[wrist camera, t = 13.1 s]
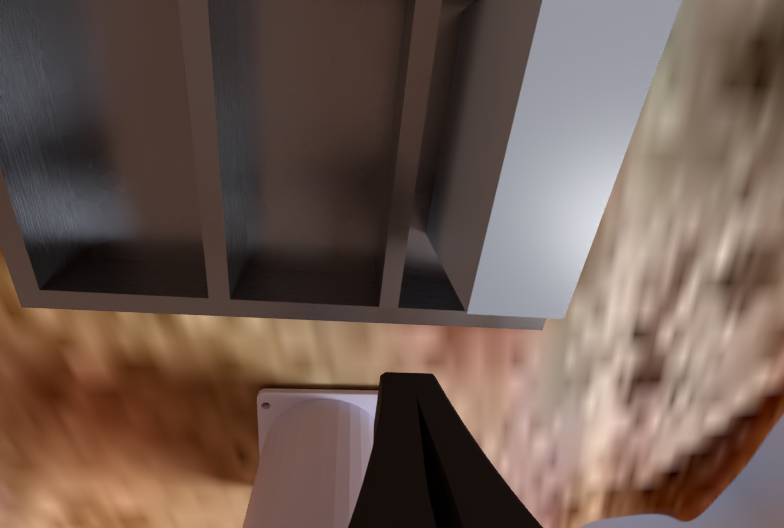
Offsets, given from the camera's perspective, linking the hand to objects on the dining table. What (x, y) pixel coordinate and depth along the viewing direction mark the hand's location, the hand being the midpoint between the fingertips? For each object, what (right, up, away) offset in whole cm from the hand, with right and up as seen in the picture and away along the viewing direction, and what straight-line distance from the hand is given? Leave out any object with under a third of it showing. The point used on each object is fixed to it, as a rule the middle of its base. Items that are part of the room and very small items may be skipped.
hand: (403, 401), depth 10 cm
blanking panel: (+3, +9, +6) cm, 12 cm away
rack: (-3, +9, +6) cm, 12 cm away
